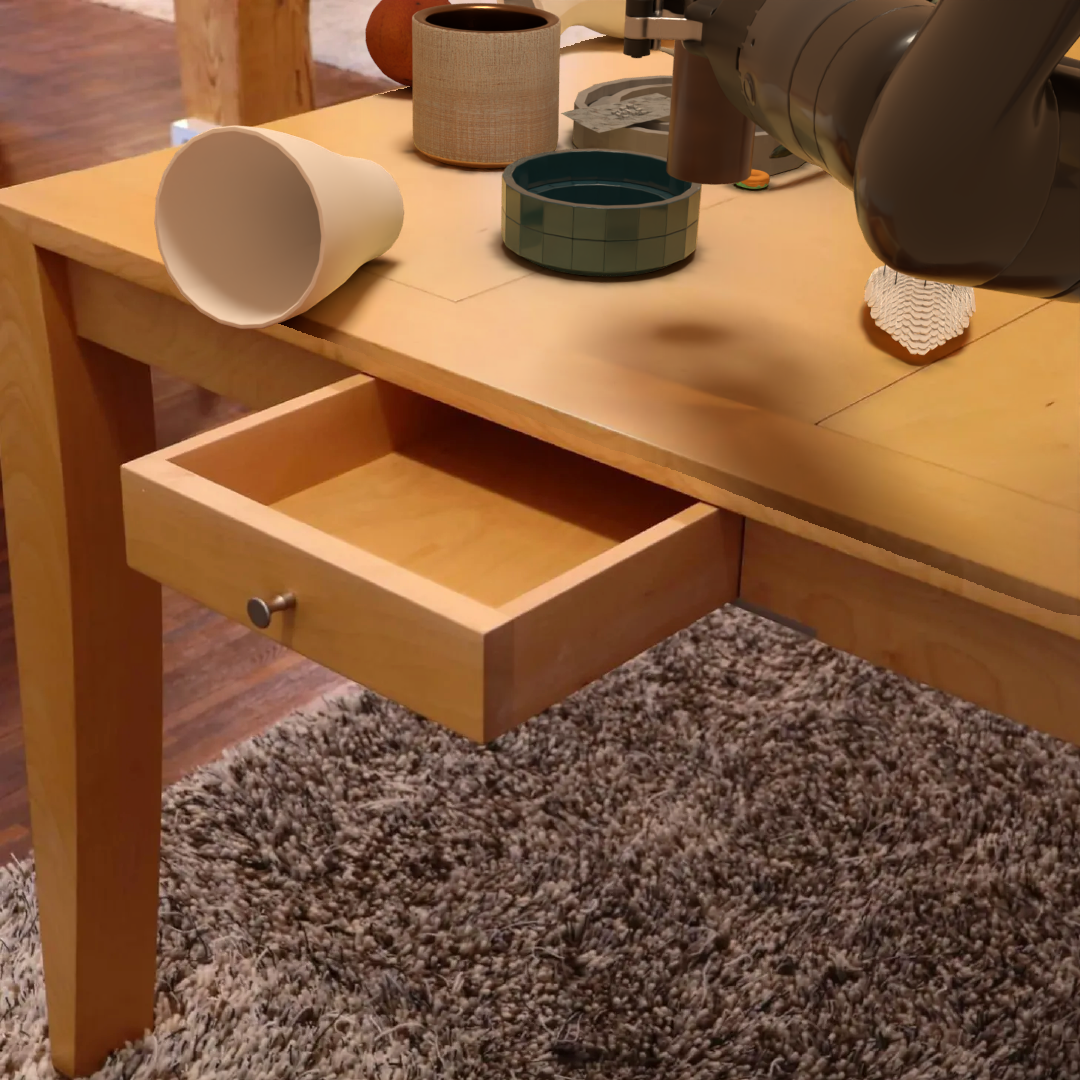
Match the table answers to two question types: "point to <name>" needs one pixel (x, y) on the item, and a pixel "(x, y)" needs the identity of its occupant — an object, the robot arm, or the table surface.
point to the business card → (622, 112)
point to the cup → (269, 222)
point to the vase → (583, 13)
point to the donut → (755, 180)
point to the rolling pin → (705, 126)
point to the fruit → (395, 36)
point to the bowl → (598, 212)
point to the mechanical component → (657, 125)
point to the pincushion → (918, 309)
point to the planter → (485, 83)
